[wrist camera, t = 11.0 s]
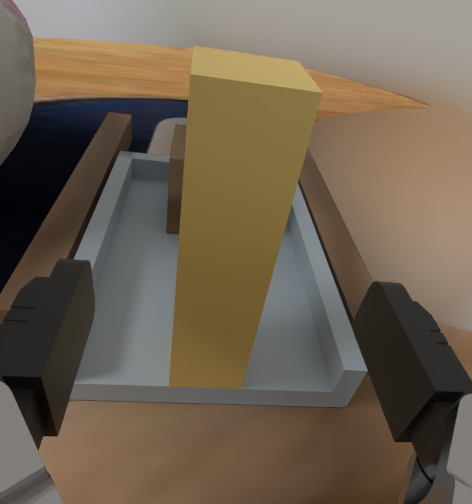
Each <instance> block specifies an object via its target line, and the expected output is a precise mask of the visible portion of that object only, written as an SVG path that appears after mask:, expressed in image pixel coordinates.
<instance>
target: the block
mask: <svg viewBox="0 0 472 504" xmlns="http://www.w3.org/2000/svg"><path fill="white" fill-rule="evenodd" d="M186 129H187V126H185V125H177V124H176V126H175V131H174V136H173V142H172V147H171V153H170V158H169V180H168V203H167V226H166V233H167V234H179V230H180V216H181V201H182V187H183V173H184V158H185V144H186Z"/></svg>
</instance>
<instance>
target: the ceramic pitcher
mask: <svg viewBox="0 0 472 504" xmlns="http://www.w3.org/2000/svg"><path fill="white" fill-rule="evenodd" d="M35 83H36V75H35V61H34V48H33V36H32V34H31V31H30V29H29V26H28V24H27V21H26V19H25V17H24V16H23V14H22V13H21V11H20V10H19V9H18V7H17V6H16V5H15V3H14V2H13V1H12V0H0V165H1V164H2V163H3V162H4V160H5V159H6V158H7V157H8V155H9V154H10V153H11V151H12V150H13V149H14V147H15V146H16V144H17V142H18V141H19V139H20V137H21V135H22V133H23V131H24V129H25V128H26V126H27V124H28V122H29V118H30V114H31V111H32V107H33V102H34V93H35Z"/></svg>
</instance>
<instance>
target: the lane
mask: <svg viewBox="0 0 472 504" xmlns="http://www.w3.org/2000/svg"><path fill="white" fill-rule="evenodd" d="M131 142H132V115H128V114H120V113H112V112H109V113H108V114H107V116H106V118H105V119H104V121H103V123H102V124H101V126H100V128H99V129H98V131H97V133H96V134H95V136H94V138H93V139H92V141H91V143H90V145H89V146H88V148H87V150H86V151H85V153H84V155H83V156H82V158H81V160H80V161H79V163H78V165H77V166H76V168H75V170H74V171H73V173H72V175H71V176H70V178H69V180H68V181H67V183H66V185H65V186H64V188H63V190H62V191H61V193H60V195H59V197H58V198H57V200H56V202H55V203H54V205H53V207H52V208H51V210H50V212H49V213H48V215H47V217H46V218H45V220H44V222H43V223H42V225H41V227H40V228H39V230H38V232H37V233H36V235H35V237H34V238H33V240H32V242H31V243H30V245H29V247H28V249H27V250H26V252H25V254H24V255H23V257H22V259H21V260H20V262H19V264H18V265H17V267H16V269H15V270H14V272H13V274H12V275H11V277H10V279H9V280H8V282H7V284H6V285H5V287H4V289H3V290H2V292H1V294H0V325H1V323H3V321H4V320H3V319H4V318H5V316H6V314H7V312H8V310H9V309H11V305H12V303H13V301H14V299H15V298H16V296H17V294H18V292H19V290H20V289H21V288H23V287H24V286H25V285H26V284H27V283H29V282H30V281H31V280H32V279H33V278H35V277H36V276H38V277H50V275H51V272H52V270H53V268H54V266H55V264H56V262H57V261H58V259H60V258H62V259H74V257H75V255H76V253H77V250H78V248H79V246H80V243H81V241H82V239H83V236H84V234H85V232H86V229H87V227H88V225H89V222H90V220H91V218H92V215H93V213H94V211H95V208H96V206H97V204H98V201H99V199H100V197H101V194H102V192H103V190H104V187H105V185H106V183H107V180H108V178H109V176H110V173H111V171H112V169H113V166H114V164H115V162H116V160H117V157H118V155H119V153H120V151H127V152H128V150H129V147H130V144H131ZM298 185H299V187H300V190H301V193H302V195H303V198H304V201H305V203H306V206H307V209H308V211H309V214H310V217H311V220H312V222H313V225H314V228H315V230H316V233H317V236H318V238H319V241H320V244H321V246H322V249H323V252H324V255H325V257H326V260H327V263H328V265H329V268H330V271H331V273H332V276H333V279H334V281H335V284H336V287H337V289H338V292H339V295H340V298H341V300H342V303H343V306H344V308H345V311H346V314H347V316H348V319H349V322H350V324H351V327H352V330H353V332H354V319H355V316H356V314H357V312H358V309H359V307H360V305H361V303H362V301H363V299H364V297H365V295H366V293H367V291H368V289H369V287H370V285H371V284H372V283H373V282H372V279H371V277H370V275H369V273H368V271H367V269H366V267H365V265H364V262H363V260H362V258H361V256H360V254H359V252H358V250H357V248H356V246H355V244H354V242H353V240H352V238H351V236H350V234H349V231H348V229H347V227H346V225H345V223H344V221H343V219H342V217H341V215H340V213H339V211H338V209H337V207H336V205H335V203H334V201H333V199H332V196H331V194H330V193H329V190H328V188H327V186H326V184H325V182H324V180H323V178H322V176H321V174H320V172H319V170H318V168H317V166H316V163H315V161H314V160H313V157H312V155H311V153H310V151H309V149H308V148H307V151H306V155H305V159H304V162H303V166H302V169H301V173H300V177H299V180H298Z"/></svg>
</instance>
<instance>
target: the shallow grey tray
mask: <svg viewBox="0 0 472 504" xmlns="http://www.w3.org/2000/svg"><path fill="white" fill-rule="evenodd" d="M321 97H322V91H321V90H320V89H319V87H318V86H317V85H316V83H315V82H314V81H313V79H312V78H311V77H310V76H309V74H308V73H307V72H306V70H305V69H304V68H303V66H302V65H301V64H300V63H299V61H293V60H286V59H280V58H273V57H266V56H260V55H253V54H246V53H240V52H233V51H226V50H220V49H213V48H206V47H200V46H194V52H193V59H192V66H191V73H190V86H189V100H188V115H187V129H186V144H185V158H184V173H183V187H182V201H181V216H180V230H179V234H167V233H166V226H167V203H168V180H169V158H170V156H163V155H153V154H145V153H136V152H127V151H120V153H119V155H118V157H117V160H116V162H115V164H114V166H113V169H112V171H111V173H110V176H109V178H108V180H107V183H106V185H105V187H104V190H103V192H102V194H101V197H100V199H99V201H98V204H97V206H96V208H95V211H94V213H93V215H92V218H91V220H90V222H89V225H88V227H87V229H86V232H85V234H84V236H83V239H82V241H81V243H80V246H79V248H78V250H77V253H76V255H75V257H74V259H76V260H89V261H90V263H91V269H92V278H93V287H94V296H95V313H94V319H93V323H92V327H91V330H90V333H89V336H88V340H87V343H86V346H85V349H84V353H83V356H82V359H81V362H80V366H79V369H78V372H77V376H76V379H75V382H74V385H73V389H72V392H71V395H70V398H69V400H99V401H135V402H170V403H206V404H241V405H277V406H312V407H347V405H348V403H349V402H350V400H351V398H352V397H353V395H354V393H355V392H356V390H357V388H358V387H359V385H360V383H361V382H362V380H363V378H364V377H365V375H366V373H367V372H368V370H367V367H366V365H365V362H364V360H363V357H362V354H361V352H360V349H359V346H358V344H357V341H356V338H355V335H354V332H353V330H352V327H351V324H350V322H349V319H348V316H347V314H346V311H345V308H344V306H343V303H342V300H341V298H340V295H339V292H338V289H337V287H336V284H335V281H334V279H333V276H332V273H331V271H330V268H329V265H328V263H327V260H326V257H325V255H324V252H323V249H322V246H321V244H320V241H319V238H318V236H317V233H316V230H315V228H314V225H313V222H312V220H311V217H310V214H309V211H308V209H307V206H306V203H305V201H304V198H303V195H302V193H301V190H300V187H299V185H298V180H299V177H300V173H301V169H302V166H303V162H304V159H305V155H306V151H307V148H308V144H309V140H310V136H311V133H312V129H313V126H314V122H315V118H316V115H317V111H318V107H319V104H320V100H321Z"/></svg>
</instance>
